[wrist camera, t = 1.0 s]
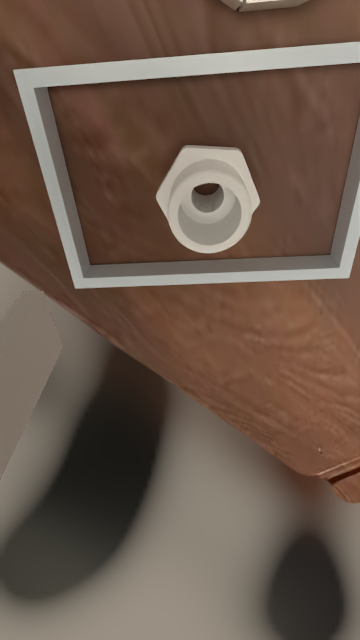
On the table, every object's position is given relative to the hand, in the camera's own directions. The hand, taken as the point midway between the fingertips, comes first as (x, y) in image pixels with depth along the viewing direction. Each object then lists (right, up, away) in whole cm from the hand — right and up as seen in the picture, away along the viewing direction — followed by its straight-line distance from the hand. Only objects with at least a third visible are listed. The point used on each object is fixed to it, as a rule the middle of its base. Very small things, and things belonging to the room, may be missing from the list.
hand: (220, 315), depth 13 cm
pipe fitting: (+1, +11, +15) cm, 19 cm away
